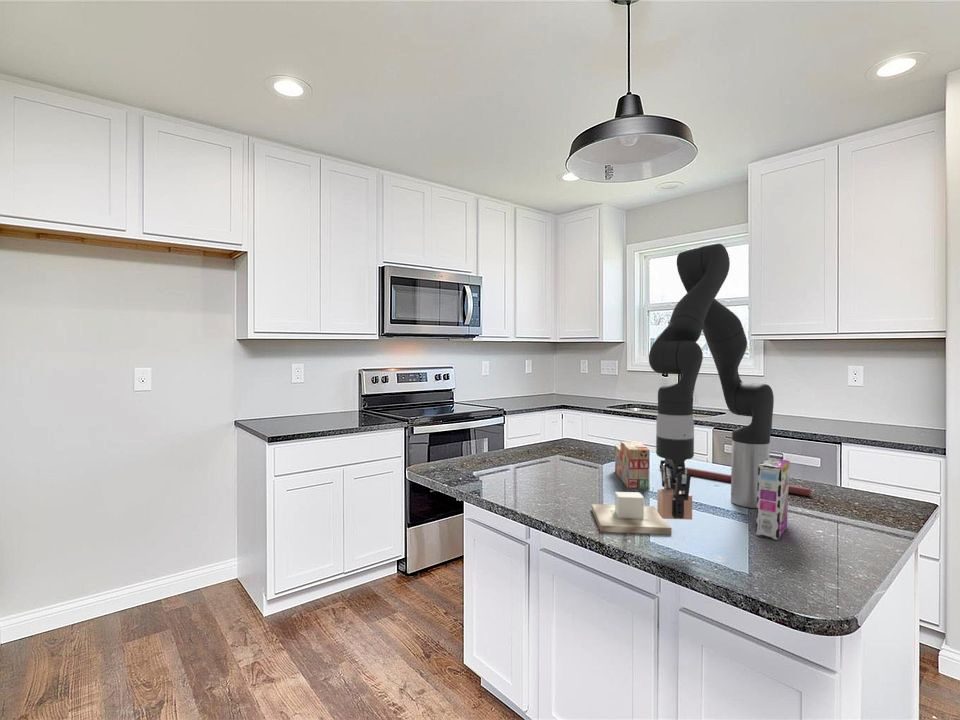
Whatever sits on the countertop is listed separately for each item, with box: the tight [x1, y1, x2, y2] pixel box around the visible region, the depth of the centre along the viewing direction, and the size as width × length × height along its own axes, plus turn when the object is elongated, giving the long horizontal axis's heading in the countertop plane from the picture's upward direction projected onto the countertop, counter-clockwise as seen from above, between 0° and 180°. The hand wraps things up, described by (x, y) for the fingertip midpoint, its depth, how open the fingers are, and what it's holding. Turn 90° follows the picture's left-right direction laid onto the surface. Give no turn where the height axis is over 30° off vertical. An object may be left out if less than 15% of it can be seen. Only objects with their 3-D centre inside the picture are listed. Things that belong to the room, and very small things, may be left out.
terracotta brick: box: [656, 488, 693, 520], centre depth 110 cm, size 6×4×5 cm
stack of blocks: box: [614, 440, 650, 490], centre depth 167 cm, size 21×6×12 cm, turn 176°
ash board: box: [591, 503, 673, 535], centre depth 127 cm, size 16×16×2 cm
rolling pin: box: [659, 464, 812, 497], centre depth 164 cm, size 45×3×3 cm, turn 46°
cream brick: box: [614, 491, 645, 518], centre depth 127 cm, size 6×4×5 cm
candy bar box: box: [755, 457, 790, 541], centre depth 120 cm, size 11×5×16 cm, turn 141°
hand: (674, 513), depth 110 cm, fingers closed on terracotta brick, 4 cm apart
